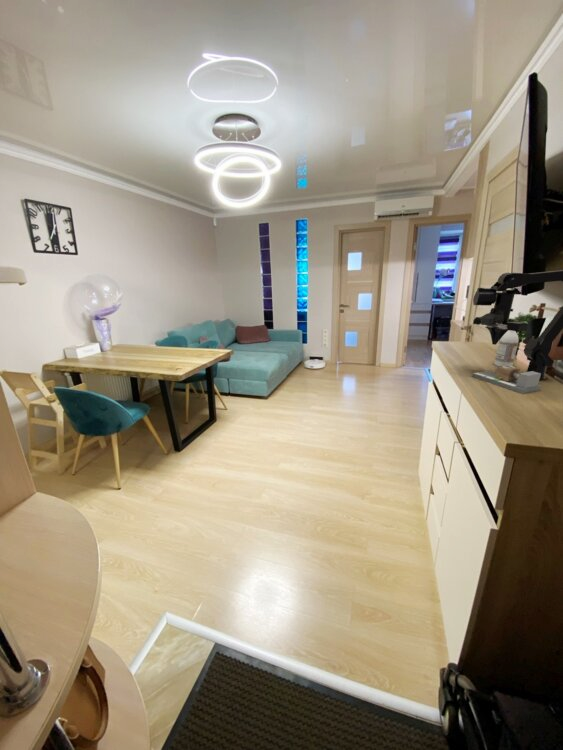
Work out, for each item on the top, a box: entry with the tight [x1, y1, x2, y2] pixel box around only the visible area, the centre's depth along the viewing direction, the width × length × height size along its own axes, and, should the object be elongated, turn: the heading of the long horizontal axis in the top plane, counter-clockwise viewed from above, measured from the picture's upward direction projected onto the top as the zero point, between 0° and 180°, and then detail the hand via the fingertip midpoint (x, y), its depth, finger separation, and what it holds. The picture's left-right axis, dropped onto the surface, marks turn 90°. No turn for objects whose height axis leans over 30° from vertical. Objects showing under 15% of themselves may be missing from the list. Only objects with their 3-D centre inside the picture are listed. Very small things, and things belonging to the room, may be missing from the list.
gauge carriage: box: [495, 365, 521, 382], centre depth 118 cm, size 7×8×5 cm
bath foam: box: [494, 321, 520, 367], centre depth 139 cm, size 7×7×20 cm
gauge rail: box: [472, 370, 542, 395], centre depth 120 cm, size 10×20×6 cm, turn 21°
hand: (494, 344), depth 127 cm, fingers closed
